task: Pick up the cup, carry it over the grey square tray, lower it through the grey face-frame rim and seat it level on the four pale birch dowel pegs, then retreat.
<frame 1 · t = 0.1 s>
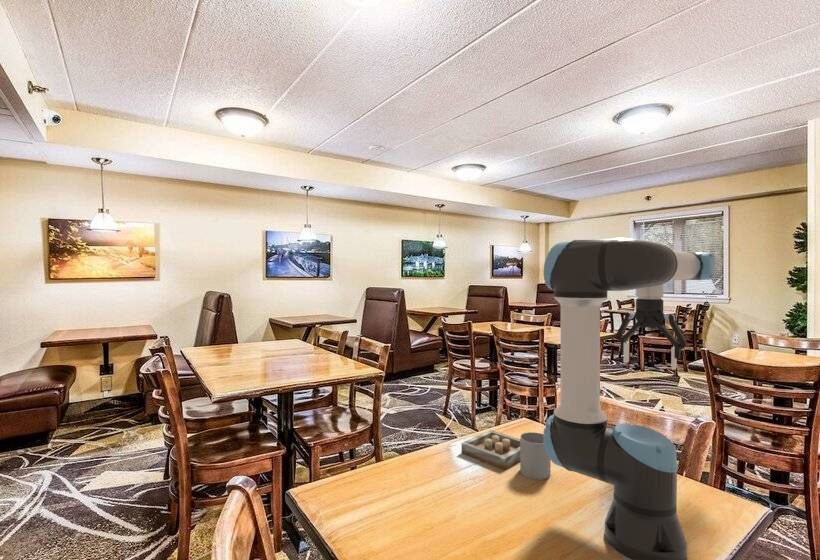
hand: (649, 365, 132), 28 cm above the table, fingers open, 13 cm apart
grey square tray: (497, 453, 133), on the table
cup: (535, 473, 120), on the table
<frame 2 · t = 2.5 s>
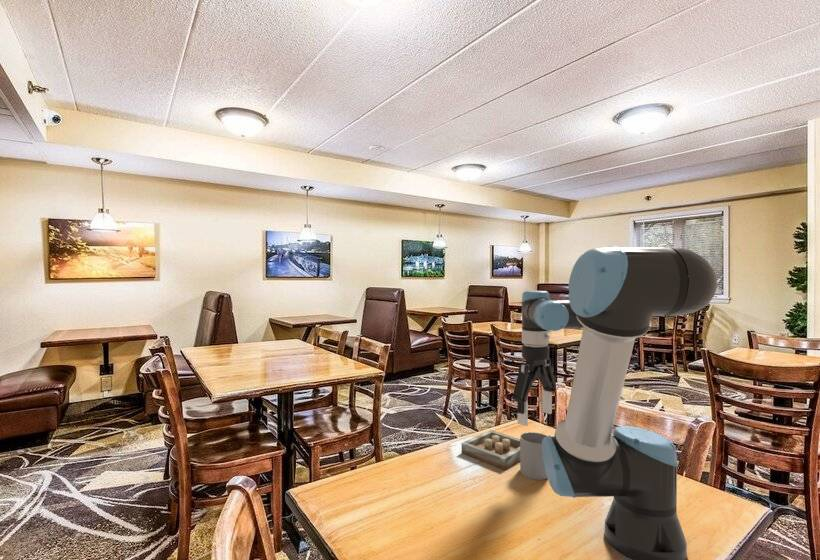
hand: (535, 418, 120), 15 cm above the table, fingers open, 13 cm apart
nothing on the table moved.
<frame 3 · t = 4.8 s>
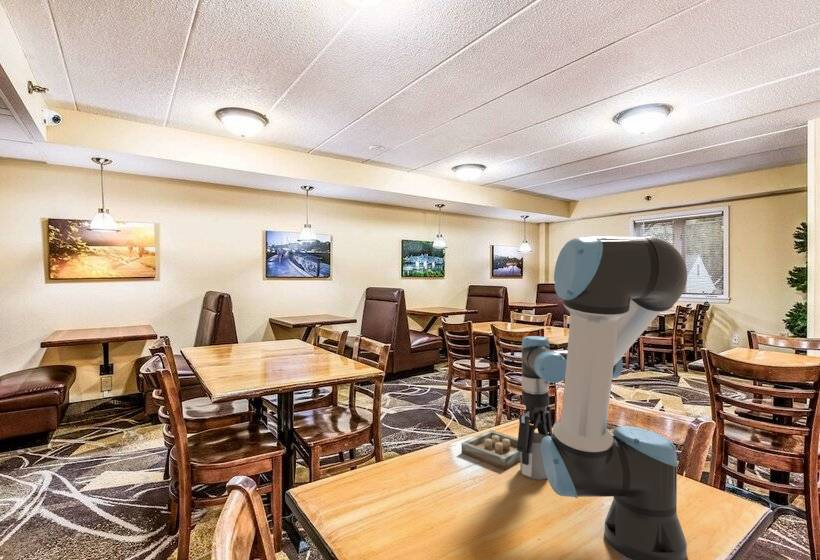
hand: (535, 469, 120), 1 cm above the table, fingers closed on cup, 8 cm apart
cup: (535, 473, 120), on the table, touching gripper
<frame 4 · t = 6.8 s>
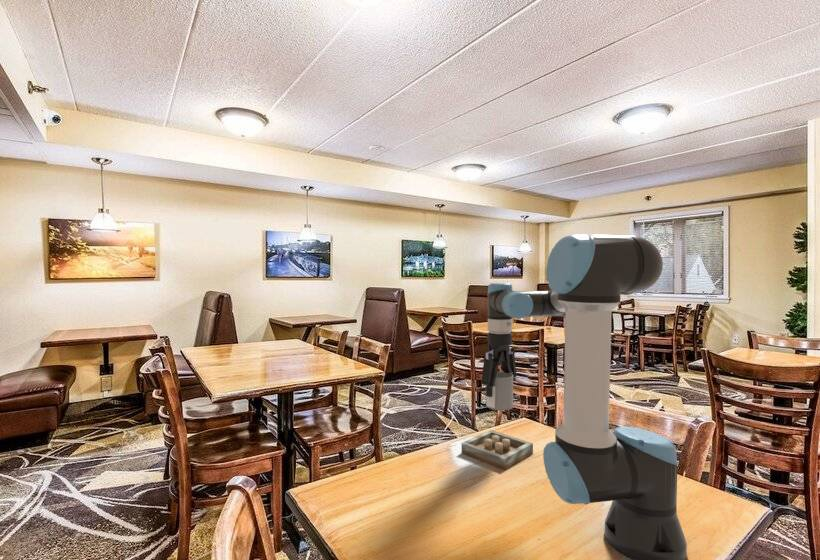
hand: (499, 403, 132), 16 cm above the table, fingers closed on cup, 8 cm apart
cup: (499, 406, 132), point 15 cm above the table, touching gripper
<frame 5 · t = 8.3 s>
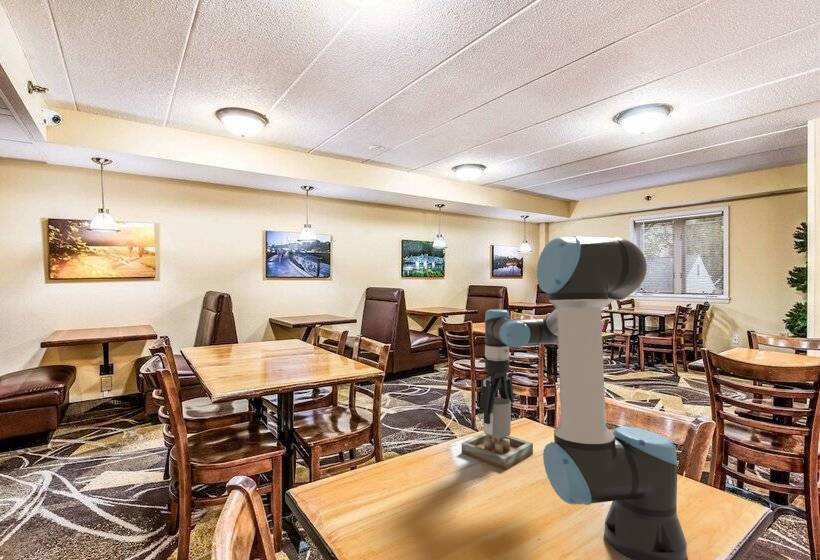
hand: (497, 429, 132), 8 cm above the table, fingers closed on cup, 8 cm apart
cup: (497, 432, 133), point 7 cm above the table, touching gripper
when the fingers open (7 cm above the table, at t = 9.3 s): cup drops 2 cm, resting on grey square tray.
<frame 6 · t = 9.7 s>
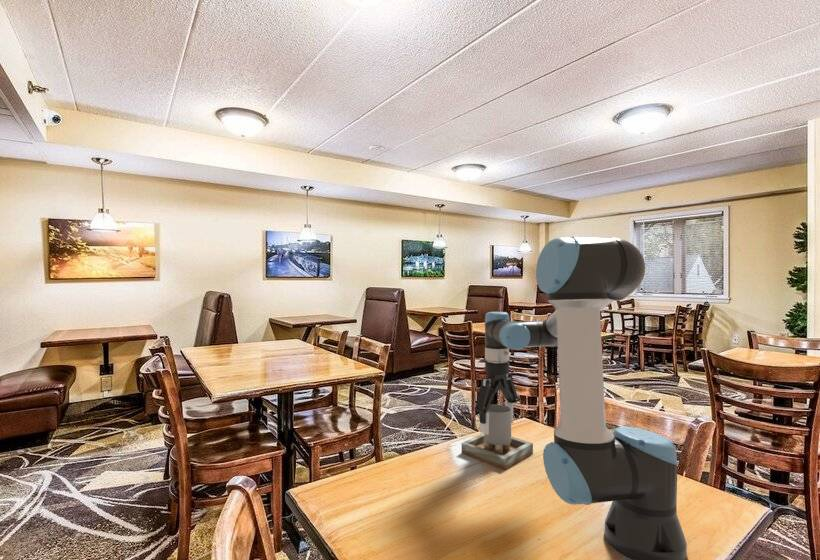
hand: (497, 427, 132), 8 cm above the table, fingers open, 13 cm apart
cup: (497, 440, 133), point 4 cm above the table, touching grey square tray
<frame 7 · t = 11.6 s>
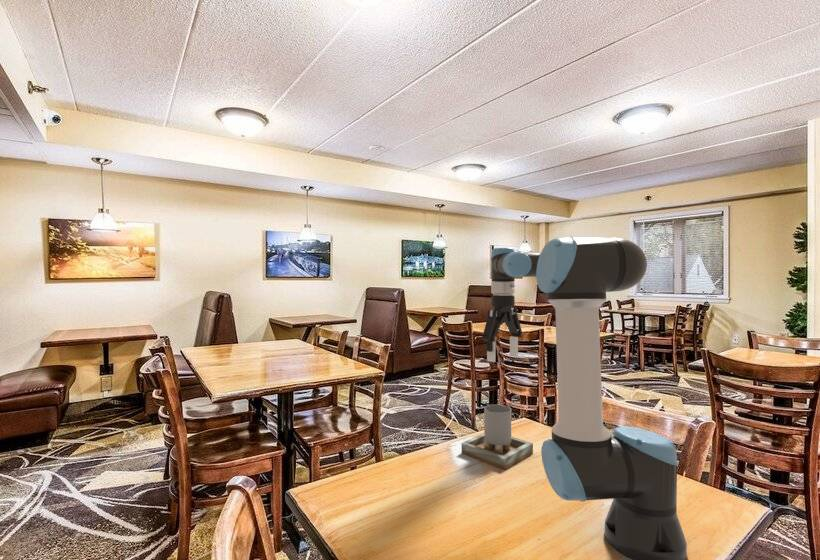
hand: (502, 358, 139), 29 cm above the table, fingers open, 13 cm apart
nothing on the table moved.
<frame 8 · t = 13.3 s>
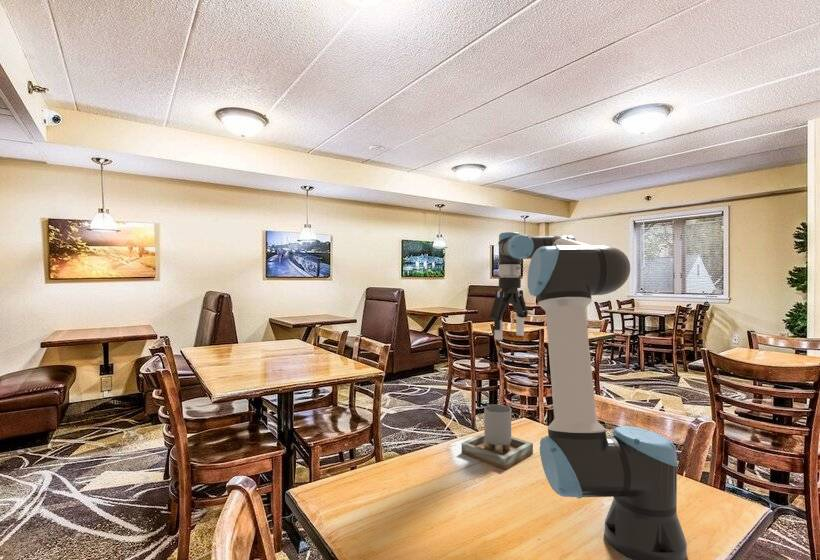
hand: (509, 337, 146), 35 cm above the table, fingers open, 13 cm apart
nothing on the table moved.
at the end: cup 0.3 cm off-centre on the grey square tray, point 4.0 cm above the grey square tray's base; cup tilted 0°; the gripper is holding nothing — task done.
